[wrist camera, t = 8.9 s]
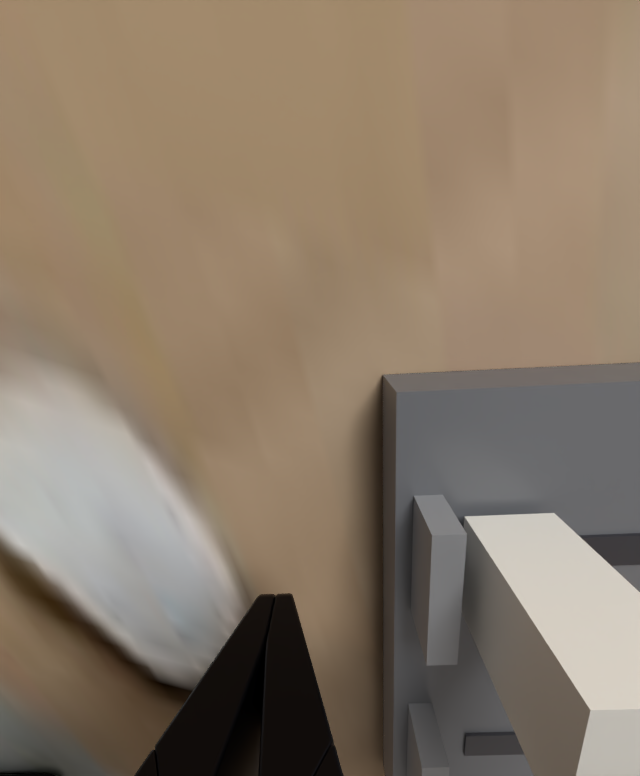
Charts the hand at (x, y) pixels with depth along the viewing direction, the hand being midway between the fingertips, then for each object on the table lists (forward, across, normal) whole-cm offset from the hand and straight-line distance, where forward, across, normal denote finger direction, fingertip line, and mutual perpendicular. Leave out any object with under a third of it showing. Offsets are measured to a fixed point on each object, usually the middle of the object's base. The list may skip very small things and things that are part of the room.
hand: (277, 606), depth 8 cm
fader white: (+1, -6, 0) cm, 6 cm away
